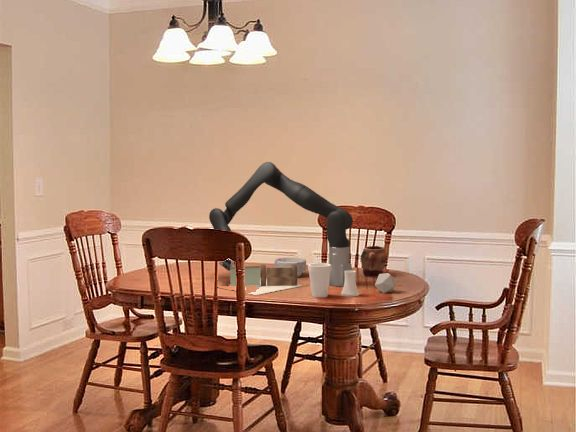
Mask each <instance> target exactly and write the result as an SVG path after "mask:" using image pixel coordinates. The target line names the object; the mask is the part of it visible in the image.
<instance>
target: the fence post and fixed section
mask: <svg viewBox="0 0 576 432" xmlns="http://www.w3.org/2000/svg"><path fill="white" fill-rule="evenodd" d="M260 279H261V286H266V279H267V286H297V284H298V277H297V265H296V264H293V265H292V267H275V266H274V267H267V265H266V264H260Z"/></svg>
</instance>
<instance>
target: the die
mask: <svg viewBox="0 0 576 432" xmlns="http://www.w3.org/2000/svg"><path fill="white" fill-rule="evenodd" d="M397 282H398V280H397V279H395V277H393V276H392V275H391V274H390V273H388V272H386V273H385V272H383V274H379V276H378V277H377V279H376V281H375V284H374V287H376V288H377V289H379V291H380V292H382V293H383V294H388V293H393V291H394V290H395V287H396V284H397Z"/></svg>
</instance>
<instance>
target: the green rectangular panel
mask: <svg viewBox="0 0 576 432" xmlns="http://www.w3.org/2000/svg"><path fill="white" fill-rule="evenodd" d="M244 266H245V286H252V285H260V279H261V265H244ZM229 272H230V273H229V274H230V276H229V277H230V284H231V286H236V269H235V266H233V267H230V271H229Z"/></svg>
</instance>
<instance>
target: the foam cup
mask: <svg viewBox="0 0 576 432" xmlns="http://www.w3.org/2000/svg"><path fill="white" fill-rule="evenodd" d="M307 270H308V275H309V281H310V282H309V283H310V284H309V285H310V289H311V290H310V291H311V295H312V297H313V298H327V297H328V293H329V286H330V285H329V280H330V272H331V264H329V262H328V263H325V262H315V263H314V262H312V263H309V264H307Z"/></svg>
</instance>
